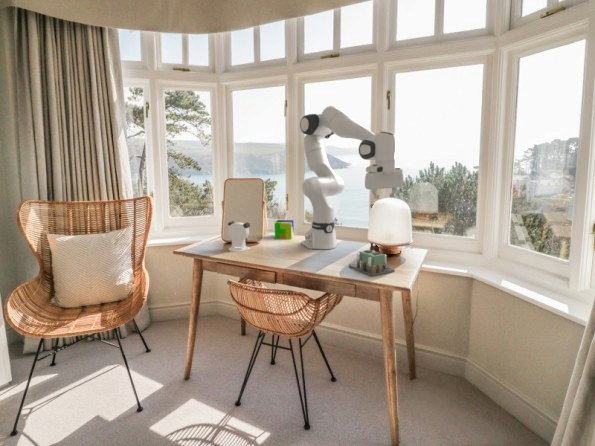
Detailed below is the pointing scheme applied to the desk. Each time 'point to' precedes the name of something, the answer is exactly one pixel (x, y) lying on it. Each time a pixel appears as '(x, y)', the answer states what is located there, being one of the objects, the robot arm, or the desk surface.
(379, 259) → the green rectangular block
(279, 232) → the puzzle toy
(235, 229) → the panda figurine
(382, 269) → the chassis
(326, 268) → the desk surface
